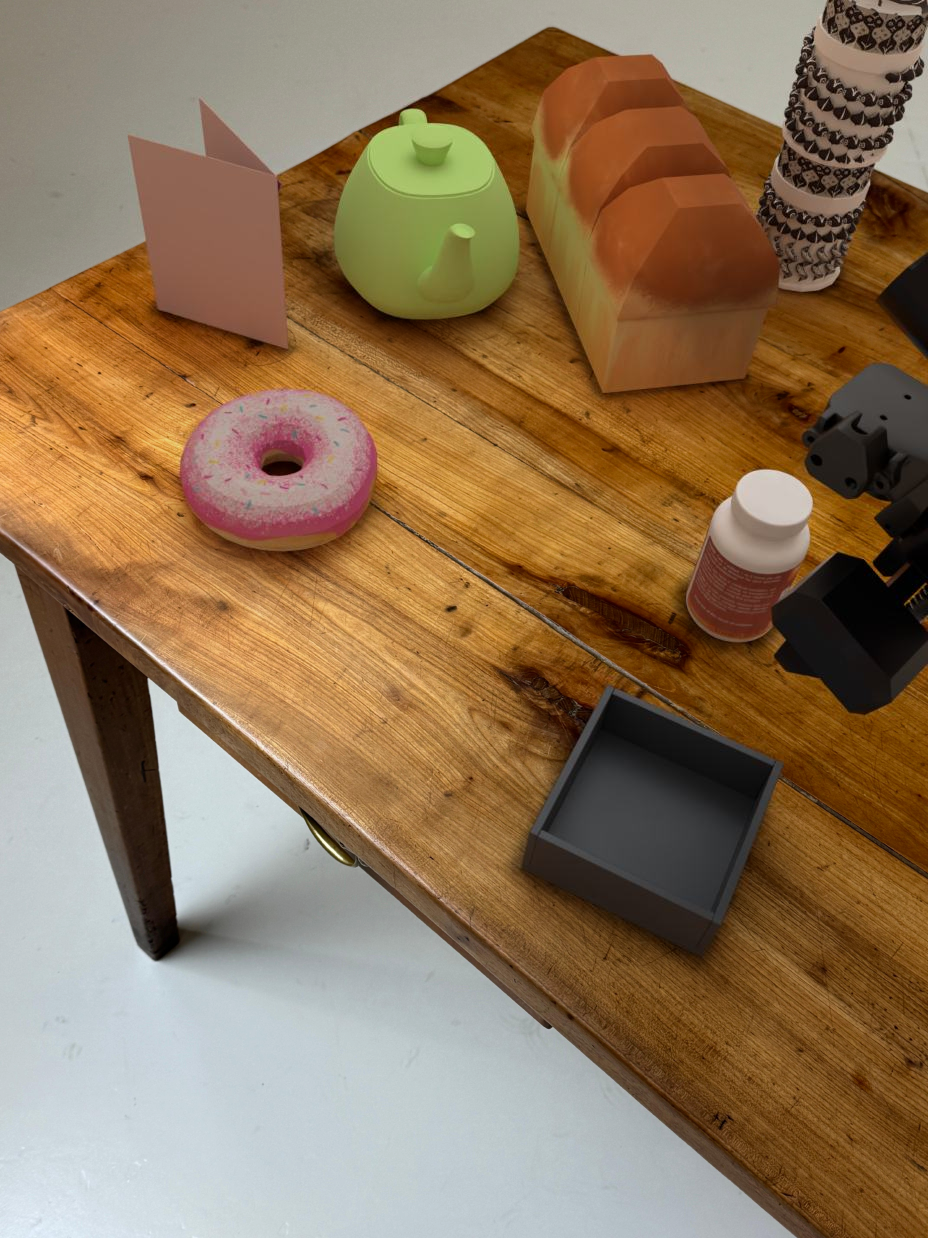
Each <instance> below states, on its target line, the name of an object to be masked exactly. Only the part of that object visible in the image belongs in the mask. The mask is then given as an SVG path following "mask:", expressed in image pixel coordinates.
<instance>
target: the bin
mask: <svg viewBox="0 0 928 1238" xmlns="http://www.w3.org/2000/svg"><path fill="white" fill-rule="evenodd" d="M784 766H785V763H784V762H781V761H779V760H776V759H775V758H773V757H771V756H768V755H766V754H764V753H761V752H759V751H757V750H755V749H752V748H750V747H748V746H746V745H744V744H742V743H739V742H737V741H735V740H732V739H730V738H728V737H726V736H724V735H721V734H720V733H717V732H714V731H712V730H710V729H708V728H706V727H703V726H701V725H699V724H697V723H695V722H693V721H690V720H688V719H686V718H683V717H681V716H678V715H677V714H675V713H672V712H670V711H668V710H666V709H664V708H661V707H659V706H657V705H654V704H652V703H650V702H648V701H645V700H643V699H641V698H639V697H637V696H634V695H632V694H630V693H627V692H626V691H623V690H621V689H618V688H616V687H614V686H612V685H610V684H606V686H605V688H604V690H603V692H602V693H601V696H600V697H599V699H598V702H597V703H596V705H595V707H594V708H593V711H592V712H591V715H590V717H589V719H588V720H587V722H586V724H585V726H584V728H583V730H582V731H581V733H580V736H579V737H578V739H577V740H576V743H575V744H574V747H573V749H572V751H571V753H570V755H569V756H568V758H567V760H566V762H565V764H564V766H563V768H562V769H561V771H560V774H559V775H558V777H557V779H556V781H555V784H554V785H553V787H552V788H551V790H550V792H549V794H548V795H547V798H546V800H545V802H544V804H543V806H542V807H541V809H540V811H539V813H538V815H537V817H536V819H535V821H534V823H533V824H532V827H531V828H530V830H529V832H528V836H527V841H526V845H525V848H524V853H523V856H522V861H521V865H520V869H522V870H523V871H526V872H528V873H530V874H532V875H534V876H536V877H538V878H540V879H541V880H544V881H546V882H548V883H550V884H552V885H554V886H556V887H558V888H560V889H562V890H564V891H566V892H569V893H570V894H572V895H574V896H576V897H578V898H581V899H582V900H584V901H586V902H588V903H590V904H592V905H594V906H597V907H599V908H601V909H603V910H605V911H606V912H609V913H611V914H613V915H614V916H617V917H618V918H621V919H623V920H625V921H627V922H629V923H630V924H632V925H635V926H637V927H638V928H641V929H643V930H645V931H647V932H649V933H652V934H653V935H654V936H657V937H659V938H661V939H663V940H665V941H667V942H669V943H671V944H674V945H676V946H677V947H680V948H681V949H683V950H686V951H687V952H690V953H692V954H694V955H696V956H698V957H700V958H702V957H703V955H704V954H705V952H706V950H707V949H708V947H709V945H710V944H711V942H712V941H713V939H714V938H715V936H716V935H717V933H718V931H719V929H720V928H721V926H722V924H723V921H724V920H725V916H726V914H727V912H728V909H729V906H730V903H731V901H732V898H733V896H734V894H735V891H736V888H737V885H738V884H739V880H740V878H741V876H742V873H743V870H744V868H745V865H746V863H747V860H748V858H749V856H750V852H751V850H752V848H753V845H754V842H755V840H756V837H757V836H758V835H757V834H758V833H759V830H760V827H761V825H762V822H763V819H764V817H765V815H766V811H767V810H768V807H769V805H770V802H771V799H772V796H773V794H774V791H775V789H776V786H777V784H778V781H779V779H780V776H781V774H782V770H783V768H784Z"/></svg>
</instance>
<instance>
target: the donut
mask: <svg viewBox="0 0 928 1238" xmlns="http://www.w3.org/2000/svg"><path fill="white" fill-rule="evenodd" d="M179 462H180V463H179V478H180V482H181V483H180V484H181V486H182V487H181V488H182V491H183V495H184V499H185V501H186V503H187V505H188V506H189V509H190V510H191V512H192V513H193V514H194V515H195V516H196V517H197V519H199V520H200V521H201V522H202V523H203V524H204V525H205V526H206V527H207V528H208V529H210V530H211V531H212V532H213V533H215V534H217V535H219V537H222V538H224V540H227V541H229V542H232V543H233V544H238V545H239V546H243V547H246V548H251V549H256V550H261V551H271V552H290V551H291V552H292V551H300V550H307V549H311V548H315V547H318V546H322V545H325V544H327V543H329V542H332V541H334V540H336V539H338V538H340V537H342V536H343V535H344V534H345V533H347V532H348V531H349V530H351V529H352V528H353V527H354V526H355V525H356V524H357V523H358V521H359V520H360V519H361V517H362V515H364V513H365V511H366V510H367V509H368V507H369V505H370V502H371V500H372V497H373V495H374V494H375V493H374V492H375V488H376V484H377V479H378V451H377V448H376V445H375V442H374V439H373V437H372V435H371V434H370V432H369V430H368V428H367V427H366V426H365V424H364V423H363V422H362V420H361V418H359V416H358V415H357V414H356V413H355V412H354V411H353V410H352V409H351V408H350V407H349V406H348V405H346V404H344V403H343V402H341V401H340V400H338V399H337V398H334V397H331V396H329V395H326V394H324V393H322V392H317V391H312V390H308V389H307V390H306V389H304V388H303V389H301V388H300V389H299V388H277V389H266V390H262V391H261V390H260V391H256V392H252V393H248V394H244V395H242V396H239V397H237V398H233V399H232V400H229V401H226V402H225V403H223V404H221V405H220V406H218V407H217V408H214V409H213V410H212V411H210V412H209V413H208V414H207V415H206V416H205V417H204V418H202V420H201V421H199V423H198V424H197V425H196V427H194V430H193V431H192V433H191V434H190V436H189V438H188V440H187V441H186V444H185V446H184V449H183V452H182V454H181V456H180V461H179ZM277 462H290V463H295V464H297V465H298V466H300V467H301V469H300V470H299V471H296V472H294V473H290V474H287V475H286V474H285V475H269V474H268V473H266V472H265V471H264V470H263V468H264V467H265V466H268V465H270V464H272V463H277Z"/></svg>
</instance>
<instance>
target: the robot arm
mask: <svg viewBox="0 0 928 1238" xmlns="http://www.w3.org/2000/svg"><path fill="white" fill-rule="evenodd" d="M874 302H875V303H876V304H877V306H878V307H879V308H880V309H881V310H882V311H883V312H884V314H886V315H887V317H888V318H889V319H890V320H891V321H892V322H893V323H894V325H896V326H897V328H898V329H899V330H900V331H901V332H902V333H903V334H904V335H905V336H906V337H907V338H908V340H909V341H910V342H911V343H912V344H913V345H914V347H915V348H916V349H917V350H918V351H919V352H920V353H921V354H922V355H923V357H924V358H925V359H926V360H927V361H928V251H926V252H925V253H924V254H923V255H921V256H919V257H918V258H917V259H916V260H914V261H913V262H912V263H910V265H908V266H907V267H906V268H905V269H904V270H902V271H901V272H900V273H899V274H898V275H897V276H896V277H895V278H894V279H893V280H892V281H891V282H890V283H889V284H888V285H887V286H886V287H885V288H883V290H882V291H881V292H880V293H879V294H878V296H877V297H876V299H875V300H874ZM801 441H802V444H803V445H804V446H805V447H806V448H807V449H808V450H807V453H806V455H805V457H804V460H803V464H804V467H805V469H806V472H807V474H808V475H809V476H811V477H812V478H813V479H815V480H816V481H818V482H820V484H823V485H824V486H825V487H826V488H828V489H830V490H831V491H832V492H834V493H836V494H837V495H839V496H840V497H841V498H843V499H845V500H856V499H858V498H860V497H861V496H862V495H863V494H864V493H866V494H867V495H869V496H870V497H872V498H874V499H876V500H879V501H883V502H890V503H889V504H887V505H886V506H885V507H883V508H882V509H881V510H880V511H879V512H878V513H877V514H876V515H874V516H873V520H874V521H875V522H876V523H877V524H878V525H879V526H880V528H881V529H882V530H883V531H884V532H885V533H886V534H887V536H888V537H889V538H891V540H890V541H889V543H888V544H887V545H886V546H885V547H884V548H883V549H882V550H881V551H880V552H879V554H878V555H876V557H875V558H874V559H873V560H872V566H873V567H874V568H875V569H876V570H877V571H878V573H879V574H880V575H881V576H882V577H884V578H889V579H887V581H884V580H883V579H882V577H881V576H880V575H879V574H878V573H877V572H876V571H875V570H874V569H873V568H872V566H871V565H870V564H869V562H867V560H866V559H865V558H863V557H862V558H861V557H859V556H855V555H851V554H848V553H844V552H840V551H836V552H835V553H833V554H832V555H830V556H829V557H827V558H826V559H825V560H823V561H822V562H820V564H819V565H817V566H816V567H815V568H813V569H812V570H811V571H809V572H808V573H807V574H806V575H805V576H803V577H802V578H801V579H800V580H799V581H798V582H797V583H796V584H795V585H793V586H792V587H791V588H790V590H789V591H788V592H787V593H786V594H785V595H784V596H783V597H782V598H781V599H779V600H778V601H777V602H776V603H775V604H774V605H773V606H772V607H771V615H772V624H773V627H774V628H775V629H776V630H777V632H779V633H780V635H781V636H782V637H783V638H784V641H783V643H781V645H780V646H779V648H778V649H777V650H776V651H775V653H774V654H773V659H774V660H775V661H776V662H777V664H779V666H780V667H781V668H782V669H783V670H784V671H785V672H787V673H789V674H790V673H791V674H795V675H800V676H803V677H804V676H805V677H810V678H814V679H819V680H820V681H821V682H822V683H823V684H824V686H825V687H826V688H827V689H828V690H829V691H830V692H831V694H832V695H833V696H834V697H835V699H837V701H838V702H839V703H840V704H841V705H842V706H843V708H845V710H846V711H847V712H848V713H849V714H855V715H859V716H860V715H861V716H866V715H869V714H871V713H873V712H875V711H877V710H879V709H882V708H884V707H886V706H888V705H890V704H892V703H893V702H894V700H896V698H897V697H899V695H900V694H901V693H902V692H903V691H904V690H905V689H906V688H907V687H908V686H909V685H910V683H911V682H913V680H914V679H915V678H916V677H917V676H918V675H919V674H920V673H921V672H922V671H923V670H924V669H925V668H926V667H927V665H928V630H927V629H926V628H925V626H924V625H923V624H922V623H923V622H924V621H925V620H926V619H927V618H928V385H927V384H925V383H924V382H922V381H920V380H919V379H917V378H916V377H914V376H912V375H911V374H909V373H907V372H906V371H904V370H902V369H901V368H899V367H898V366H896V365H893V364H890V363H888V362H875V363H871V364H869V365H867V366H865V367H864V368H863V369H862V370H861V371H859V372H858V373H857V374H856V375H854V377H852V378H851V379H850V380H848V381H847V382H846V383H844V385H842V386H840V388H838V389H837V390H836V391H835V392H833V393H832V394H831V395H830V396H829V399H828V401H827V404H826V406H825V408H824V410H823V412H822V413H821V414H819V415H818V418H817V420H816V422H815V423H813V424H812V425H811V426H809V428H807V429H806V430H805V431H804V432H802V434H801ZM922 587H923V588H922ZM913 596H914V597H913Z"/></svg>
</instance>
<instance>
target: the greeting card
mask: <svg viewBox="0 0 928 1238" xmlns="http://www.w3.org/2000/svg"><path fill="white" fill-rule="evenodd" d="M198 101H199V110H200V111H199V112H200V119H201V127H202V128H201V129H202V135H203V143H204V144H203V145H204V152H205V155H203V154H199V153H195V152H193V151H189V150H185V149H182V148H178V147H174V146H171V145H167V144H164V143H160V142H157V141H153V140H150V139H146V138H143V137H139V136H135V135H132V134H127V139H128V144H129V145H128V146H129V151H130V157H131V162H132V169H133V174H134V180H135V185H136V192H137V198H138V203H139V209H140V214H141V221H142V226H143V233H144V238H145V243H146V249H147V250H146V251H147V255H148V261H149V267H150V273H151V277H152V278H151V279H152V283H153V290H154V295H155V301H156V307H157V310H159V311H162V312H165V313H168V314H172V315H176V316H178V317H182V318H185V319H187V320H191V321H194V322H198V323H201V324H204V325H208V326H211V327H214V328H217V329H220V330H224V331H227V332H231V333H234V334H238V335H240V336H243V337H247V338H249V339H253V340H256V341H260V342H264V343H266V344H269V345H273V346H276V347H280V348H283V349H286V350H289V333H288V320H287V305H286V304H287V303H286V290H285V289H286V288H285V274H284V259H283V244H282V243H283V242H282V228H281V215H280V200H279V199H280V197H279V193H280V190H281V186H282V183H281V182H280V181H279V180H278V175H277V174H275V172H274V171H273V170H272V169H271V168H270V167H269V166H268V165H267V164H266V163H265V162H264V161H263V160H262V159H261V158H260V157H259V156H258V155H257V154H256V153H255V152H254V151H253V150H252V149H251V148H250V146H248V145H247V144H246V143H245V141H243V140H242V139H241V138H240V137H239V136H238V135H237V133H235V131H234V130H233V129H232V128H231V127H230V126H229V125H227V124H226V122H225V121H224V120H223V119H222V118H221V117H220V116H219V115H218V114H217V113H216V112H215V111H214V110H213V109H212V108H211V107H210V106H209V105H208V104H207V103H206V102H205V101H204V100H203V98H201V97H200V96H198Z"/></svg>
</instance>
